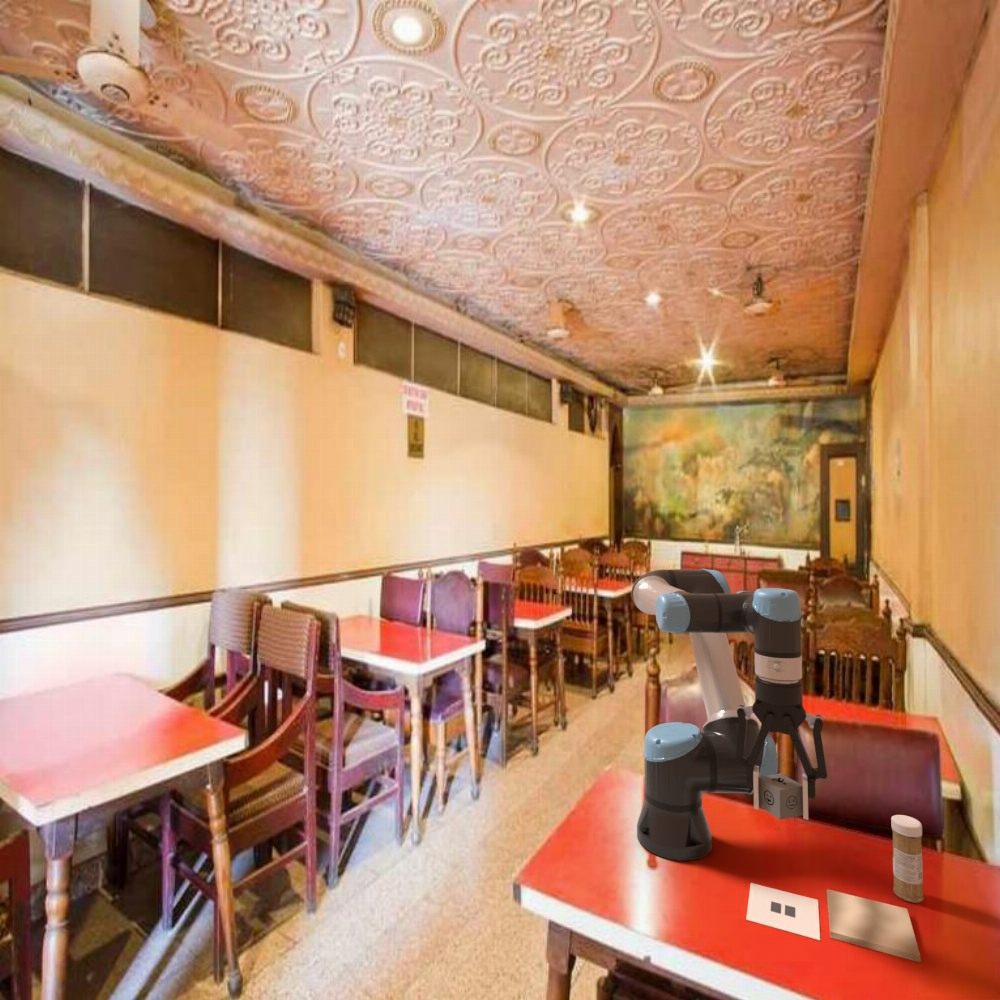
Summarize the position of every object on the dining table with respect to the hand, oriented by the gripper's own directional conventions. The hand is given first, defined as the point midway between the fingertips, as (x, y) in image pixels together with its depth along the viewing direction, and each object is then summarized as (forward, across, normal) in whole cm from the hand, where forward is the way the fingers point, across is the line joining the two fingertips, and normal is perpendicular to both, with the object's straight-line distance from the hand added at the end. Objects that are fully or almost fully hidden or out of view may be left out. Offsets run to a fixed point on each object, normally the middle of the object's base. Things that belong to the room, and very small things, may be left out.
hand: (780, 810), depth 102 cm
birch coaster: (+17, +13, +2) cm, 21 cm away
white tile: (+17, 0, 0) cm, 17 cm away
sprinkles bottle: (+17, +20, +14) cm, 30 cm away
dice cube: (0, 0, 0) cm, 0 cm away
